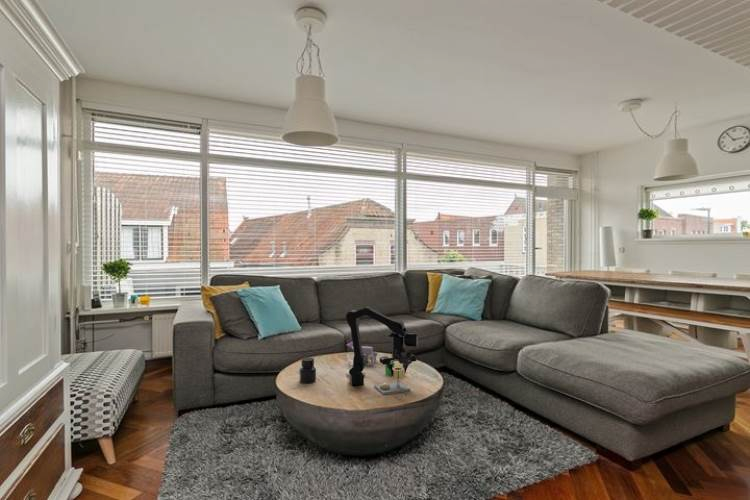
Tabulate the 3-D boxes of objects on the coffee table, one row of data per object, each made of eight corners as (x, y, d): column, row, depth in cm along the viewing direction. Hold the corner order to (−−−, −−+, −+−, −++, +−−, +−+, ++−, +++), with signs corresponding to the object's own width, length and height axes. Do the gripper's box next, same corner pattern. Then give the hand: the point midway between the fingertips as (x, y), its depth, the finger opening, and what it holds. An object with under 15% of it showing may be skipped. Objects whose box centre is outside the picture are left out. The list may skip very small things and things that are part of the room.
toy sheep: (342, 364, 257) (342, 342, 257) (349, 360, 267) (349, 339, 267) (372, 367, 250) (372, 345, 250) (378, 363, 260) (378, 341, 260)
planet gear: (394, 380, 209) (394, 371, 209) (389, 376, 215) (389, 367, 215) (406, 378, 212) (406, 369, 212) (401, 375, 218) (401, 366, 218)
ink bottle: (307, 377, 232) (307, 355, 231) (319, 379, 227) (319, 358, 227) (295, 382, 223) (295, 359, 223) (308, 384, 219) (308, 362, 219)
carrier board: (383, 394, 204) (383, 386, 204) (374, 387, 215) (374, 379, 215) (410, 390, 209) (410, 382, 209) (400, 383, 220) (400, 376, 220)
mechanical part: (393, 377, 232) (393, 363, 232) (385, 374, 237) (385, 361, 237) (406, 372, 241) (406, 358, 241) (399, 370, 245) (399, 357, 245)
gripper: (387, 350, 202) (387, 382, 202) (421, 347, 209) (421, 378, 209) (379, 345, 213) (379, 375, 213) (411, 342, 220) (411, 371, 220)
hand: (397, 375), depth 213 cm, fingers closed on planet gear, 6 cm apart
